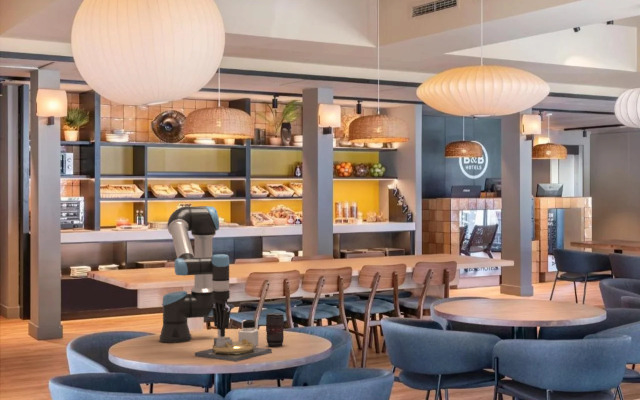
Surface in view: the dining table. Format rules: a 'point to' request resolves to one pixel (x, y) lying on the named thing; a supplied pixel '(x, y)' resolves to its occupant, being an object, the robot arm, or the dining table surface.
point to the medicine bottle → (248, 332)
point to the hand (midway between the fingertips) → (221, 343)
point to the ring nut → (232, 346)
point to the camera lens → (274, 329)
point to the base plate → (233, 357)
